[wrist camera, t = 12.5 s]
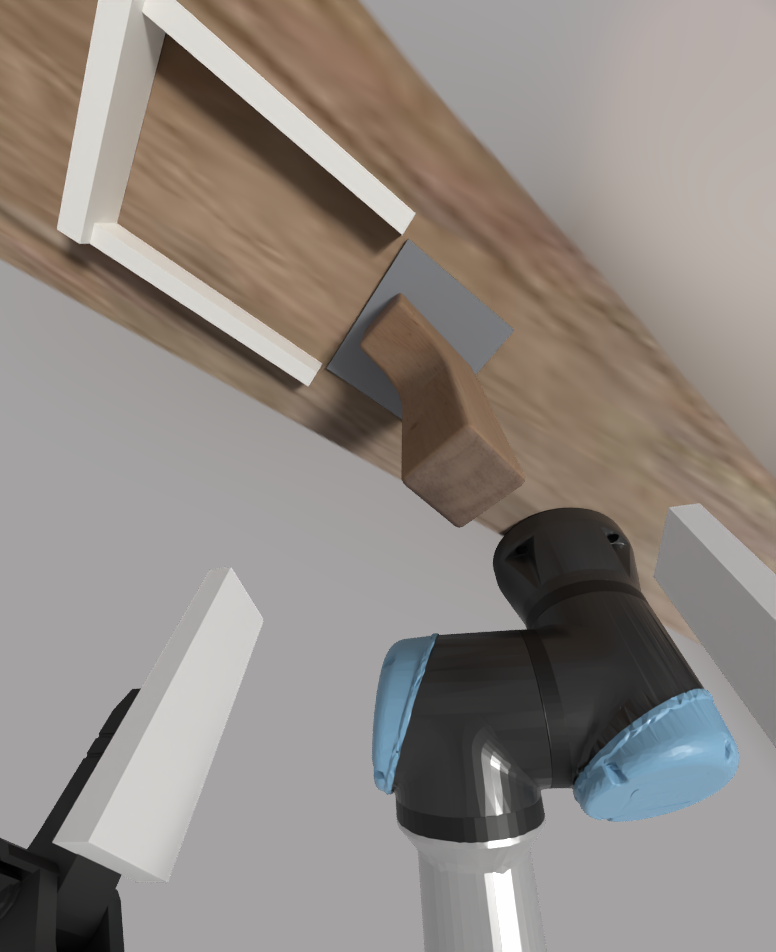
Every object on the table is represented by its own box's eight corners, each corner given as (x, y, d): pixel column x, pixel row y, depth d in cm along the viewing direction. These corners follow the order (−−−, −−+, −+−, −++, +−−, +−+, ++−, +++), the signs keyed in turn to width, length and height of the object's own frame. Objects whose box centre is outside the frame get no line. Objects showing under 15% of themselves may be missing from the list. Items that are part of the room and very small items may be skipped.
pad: (513, 329, 32) (514, 330, 31) (423, 432, 37) (423, 434, 37) (408, 238, 29) (408, 238, 28) (327, 366, 34) (326, 368, 34)
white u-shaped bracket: (414, 214, 28) (416, 213, 25) (314, 376, 35) (305, 390, 32) (148, -22, 22) (109, -60, 19) (91, 228, 29) (56, 229, 26)
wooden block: (362, 332, 32) (325, 424, 17) (399, 289, 30) (395, 350, 15) (435, 403, 35) (459, 533, 20) (473, 368, 33) (530, 483, 18)
